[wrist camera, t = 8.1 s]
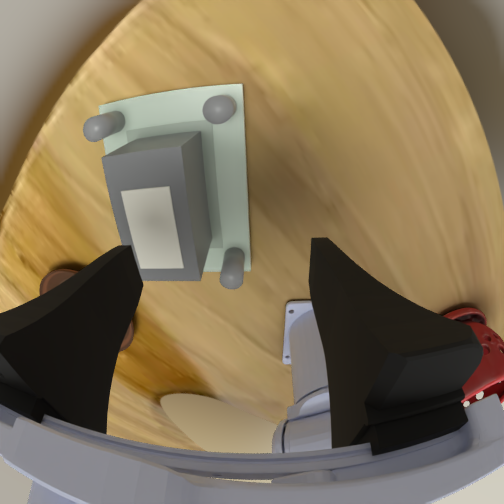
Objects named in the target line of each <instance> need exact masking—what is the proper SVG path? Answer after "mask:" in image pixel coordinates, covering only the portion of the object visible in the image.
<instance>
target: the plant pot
mask: <svg viewBox="0 0 504 504" xmlns="http://www.w3.org/2000/svg"><path fill="white" fill-rule="evenodd" d="M444 317H446V318H449V319H452V320H455V321H458V322H461V323H464V324H467V325H470V326H471V328H472V329H473V331H474V333H475V334H476V336H477V338H478V340H479V341H480V343H481V345H482V347H483V352H484V354H483V357H482V360H481V363H480V364H479V366H478V367H477V369H476V370H475V372H474V373H473V374H472V376H471V377H470V378H469V379H468V381H467V382H466V383H465V384H464V386H463V387H462V389H463V391H464V393H465V398H464V400H462V401H461V402H462V404H464V402H465V401H469V402H470V404H472V403H474V402H477V401H479V400H478V399H476V394H477V393H479V392H481V391H483V392H484V395H483V398H482V399H484V398H486V397H488V396H491V395H493V394H497V395H498V398H499V400H500V403H502V402H503V401H504V342H503V340H502V339H501V337H500V336H499V335H498V334H497V333H495V332H494V331H493V330H492V329H490V328H489V327H487V326H486V323H487V322H486V317H485V315H484V314H483V313H482V312H481V311H480V310H478V309H475V308H461V309H458V310H455V311H452V312H450V313H448V314H446V315H444ZM500 350H501V351H502V352H503V353H502V352H501V351H500ZM500 381H501V382H500ZM499 382H500V383H499ZM480 400H481V399H480ZM463 407H464V406H463ZM465 408H466V407H464V409H465Z"/></svg>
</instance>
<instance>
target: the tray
mask: <svg viewBox="0 0 504 504" xmlns="http://www.w3.org/2000/svg"><path fill="white" fill-rule="evenodd" d="M99 113H100V115H97V116H94V117H91V118H89V119H88V120H87V121H86V122H85V124H84V127H83V133H84V136H85V137H86V139H87V140H89V141H91V142H97V141H99V140H101V139H103V141H104V147H105V153H106V155H107V154H109V153H111V152H112V151H114V150H116V149H118V148H120V147H122V146H124V145H125V144H127V143H129V142H131V141H133V140H135V139H138V138H144V137H151V136H158V135H166V134H174V133H182V132H192V131H201V139H202V151H203V161H204V171H205V181H206V191H207V200H208V209H209V218H210V226H211V235H212V241H211V244H210V248H209V252H208V255H207V259H206V263H205V266H204V270H203V272H221V274H220V283H221V285H222V286H223V287H225V288H227V289H237V288H239V287H240V286H241V285H242V283H243V275H244V271H251V250H250V228H249V206H248V184H247V162H246V139H245V116H244V94H243V84H229V85H215V86H205V87H196V88H187V89H180V90H173V91H166V92H160V93H154V94H149V95H144V96H139V97H134V98H129V99H125V100H120V101H116V102H112V103H108V104H104V105H100V106H99Z"/></svg>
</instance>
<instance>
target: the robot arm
mask: <svg viewBox="0 0 504 504" xmlns="http://www.w3.org/2000/svg"><path fill="white" fill-rule="evenodd" d="M142 288H143V282H142V279H141V276H140V273H139V269H138V266H137V263H136V260H135V257H134V253H133V250H132V247H131V245H121V246H117V247H115V248H113V249H111V250H110V251H108V252H106V253H105V254H103V255H102V256H100V257H99V258H97V259H96V260H95V261H93V262H92V263H90V264H89V265H87V266H86V267H85V268H83V269H82V270H80V271H79V272H77V273H76V274H74V275H73V276H71V277H70V278H69V279H67V280H66V281H64V282H63V283H61V284H60V285H58V286H56V287H55V288H53V289H51V290H50V291H48V292H46V293H44V294H43V295H41V296H39V297H37V298H35V299H33V300H31V301H29V302H27V303H25V304H23V305H20V306H18V307H16V308H13V309H11V310H8V311H6V312H3V313H0V456H2V457H3V459H4V461H5V463H6V464H8V465H9V466H11V467H12V468H13V469H15V470H17V471H18V472H20V473H21V474H23V475H25V476H26V477H28V478H30V479H31V480H33V483H32V487H31V491H30V494H29V499H28V503H27V504H431V503H433V502H435V501H438V500H440V499H442V498H445V497H447V496H449V495H451V494H453V493H455V492H458V491H460V490H462V489H464V488H466V487H467V486H469V485H471V484H473V483H475V482H477V481H478V480H480V479H482V478H484V477H486V476H487V475H489V474H491V473H492V472H494V471H496V470H497V469H499V468H500V467H502V466H504V410H503V407H502V405H501V403H500V400H499V398H498V395H497V394H493V395H491V396H488V397H486V398H484V399H481V400H479V401H477V402H474V403H472V404H470V405H469V406H467V407H466V408H465V409H464V407H463V404H462V402H461V401H462V400H464V398H465V393H464V391H463V389H462V387H463V386H464V384H465V383H466V382H467V381H468V379H469V378H470V377H471V376H472V374H473V373H474V372H475V370H476V369H477V367H478V366H479V364H480V363H481V360H482V357H483V354H484V352H483V347H482V345H481V343H480V341H479V340H478V338H477V336H476V334H475V333H474V331H473V329H472V328H471V326H470V325H467V324H464V323H461V322H458V321H455V320H452V319H449V318H446V317H444V316H441V315H439V314H437V313H434V312H432V311H430V310H427V309H425V308H423V307H421V306H419V305H417V304H415V303H413V302H411V301H410V300H408V299H406V298H404V297H402V296H401V295H399V294H397V293H396V292H394V291H392V290H391V289H389V288H388V287H386V286H385V285H383V284H382V283H380V282H379V281H378V280H376V279H375V278H373V277H372V276H371V275H370V274H368V273H367V272H366V271H365V270H363V269H362V268H361V267H360V266H358V265H357V264H356V263H355V262H354V261H353V260H351V259H350V258H349V257H348V256H347V255H346V254H345V253H344V252H343V251H342V250H340V249H339V248H338V247H337V246H336V245H335V244H334V243H333V242H332V241H331V240H330V239H328V238H311V255H310V269H309V288H310V296H311V301H290V302H288V303H287V304H286V313H285V329H284V345H283V359H282V361H283V363H284V364H291V368H292V381H293V394H294V405H293V406H290V407H288V408H287V415H288V419H284V420H282V421H280V422H279V424H278V426H277V428H276V430H275V432H274V435H273V439H272V453H265V454H264V453H263V454H249V453H248V454H247V453H219V452H207V451H196V450H186V449H178V448H171V447H164V446H158V445H152V444H147V443H142V442H137V441H132V440H127V439H123V438H119V437H115V436H111V435H107V434H106V432H107V412H108V403H109V395H110V389H111V383H112V378H113V373H114V369H115V365H116V360H117V357H118V353H119V350H120V347H121V345H122V342H123V340H124V337H125V335H126V332H127V330H128V328H129V325H130V323H131V320H132V318H133V316H134V313H135V311H136V308H137V306H138V303H139V300H140V296H141V292H142ZM289 310H292V311H289ZM208 477H209V478H208ZM215 478H224V479H245V480H271V479H273V480H272V483H256V482H242V481H232V480H222V479H215Z"/></svg>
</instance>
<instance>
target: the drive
mask: <svg viewBox="0 0 504 504" xmlns="http://www.w3.org/2000/svg"><path fill="white" fill-rule="evenodd" d="M102 163H103V168H104V173H105V178H106V183H107V187H108V192H109V196H110V200H111V205H112V209H113V213H114V217H115V221H116V224H117V228H118V232H119V235H120V239H121V242H122V245H131V247H132V250H133V253H134V257H135V260H136V263H137V266H138V269H139V273H140V276H141V279H142V281H201V278H202V274H203V270H204V266H205V263H206V259H207V255H208V252H209V248H210V244H211V241H212V235H211V226H210V218H209V209H208V200H207V191H206V181H205V171H204V161H203V151H202V139H201V131H192V132H182V133H174V134H166V135H158V136H151V137H144V138H138V139H135V140H133V141H131V142H129V143H127V144H125V145H124V146H122V147H120V148H118V149H116V150H114V151H112V152H111V153H109V154H107V155H105V156H104V157H102Z"/></svg>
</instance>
